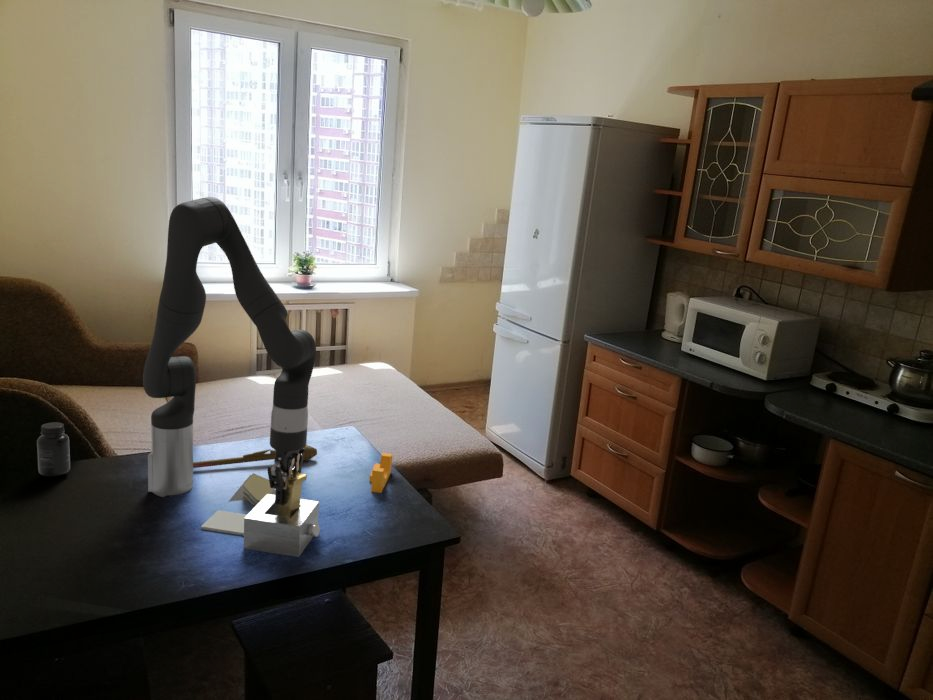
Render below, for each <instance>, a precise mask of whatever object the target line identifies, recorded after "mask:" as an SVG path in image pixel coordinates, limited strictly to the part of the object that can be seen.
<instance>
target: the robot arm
mask: <svg viewBox="0 0 933 700" xmlns="http://www.w3.org/2000/svg"><path fill="white" fill-rule="evenodd" d="M212 244H216V245H218V247H219V248H220V249H221V250H222V251H223V253H224V254H225V256H226V257H227V260H228V262H229V265H230V269H231V274H232V282H233V283H232V284H233V288H234V292H235V293H234V294H235V295H236V298H237V301H238V302H239V305H240V306H241V307H242V309H243V311H245V314H247V316H248V317H249V318H250V319H251V321H252V323H253V324H254V326H256V329H257V331H258V333H259V337H260V339H261V342H262V344H263V347H264V349H265V351H266V353H267V354H268V355H267V356H269V359H271V361H272V362H273V363H274V364H275V365H277V366H278V367H279V368H282V369H281V373H280V374H279V375H278V377H277V378H275V381H274V385H273V394H272V395H273V398H272V409H271V413H270V430H269V431H270V432H269V433H270V434H269V445H270V447H271V448H272V449H274V450H276V456H275V459H273V460H274V461H273V462H274V464H272V465H268V466H267V475H268V480H269V482H270V488H273V489H275V490H276V495H275V503H276V504H278V505H285V504H286V495H287V484H286V481H287V479H289V478H291V473H292V472H300V473H302V469H303V463H304V461H303V460H304V455H305V448H304V447H305V446H306V445H307V438H308V437H307V436H308V426H309V425H308V421H309V411H308V403H309V402H308V401H309V387H310V386H309V385H310V380H311V377H312V375H313V371H314V368H315V367H314V366H315V362H316V357H317V344H316V342H315V338H314V337H313V335H312V334H311V333H310V332H309V331H307V330H304V329H295V330H291V329H290V328H289V326H288V324H287V322H286V319H287V317H288V310H287V309H286V306H285V305H284V303H283V302H282V300H281V299H280V298H279V296H278V295H277V294H276V292H275V290H274V289H273V288H272V287H271V285H270V284H269V282H268V280H267V279H266V278H265V276H264V274H263V273H262V271H261V269H260V267H259V266H258V264H257V262H256V260H255V258H254V256H253V254H252V251H251V249H250V248H249V245H248V244H247V242H246V239H245V237H244V236H243V234H242V232H241V229H240V228H239V225H238V223H237V222H236V219H235V218H234V216H233V214H232V213H231V211H230V209H229V207H228V206H227V204H225V203H224V202H223V201H222V200H221V199H219V198H217V197H214V196H206V197H202V198H197V199H192V200H188V201H185V202H181V203H179V204H177V205H175V207H174V208H173V209H172V211H171V213H170V216H169V220H168V228H167V247H166V248H167V249H166V261H165V268H164V275H163V281H162V286H161V291H160V293H159V294H160V295H159V301H158V306H157V311H156V319H155V326H154V331H153V336H152V340H151V344H150V347H149V350H148V353H147V357H146V359H145V362H144V367H143V373H142V374H143V375H142V385H143V390H144V391H145V394H146V395H147V396H148V397H150V398H153V399H165V398H171V399H169V401H168V402H166V403H165V404H163V405H160V406H158V407H157V408H155V409H154V410H153V411H152V412H151V414H150V416H151V417H150V421H151V424H150V428H151V430H150V436H151V439H150V440H151V452H150V453H149V454H148V455H147V484H148V486H147V488H148V489H147V490H148V492H149V493H153V494H154V495H155V496H158V497H161V498H165V497H166V496H176V495H181V494H184V493H188V492H190V491H191V490H192V489H193V487H194V468H193V462H194V414H195V405H196V404H195V401H196V387H197V385H196V384H197V383H196V382H197V372H196V367H195V364H194V361H193V359H191V357H189V356H185V355H184V356H183V355H181V356H173V354H174V353H175V352H176V350H178V348H179V347H181V345H183V344H184V343H185V342H186V341H187V340H188V339H189V338H190V337H191V335H193V334H194V333H195V332H196V331H197V329H198V328H199V326H200V324H201V322H202V320H203V315H204V312H205V308H206V302H207V293H206V290H205V287H204V284H203V283H202V281H201V279H200V277H199V275H198V272H197V265H198V259H199V256H200V254H201V252H202V251H201V250H202V249H203V248H204V247H206V246H209V245H212ZM283 472H285V473H287V474H283ZM283 479H284V482H283Z"/></svg>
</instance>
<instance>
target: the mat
mask: <svg viewBox="0 0 933 700" xmlns="http://www.w3.org/2000/svg"><path fill="white" fill-rule="evenodd" d="M247 515H248V514H244V513H240V512H239V513H238V512H232V511H227V510H226V511H225V510H219V509H218V510H217V511H215V512H214V513H213V514H212V515H211V516H210V517H209V518H208V519H207V520H206V521H205V522H204V523H203V524H202V525H201V526H200V530H206V531H210V532H211V531H213V532H218V533H225V534H232V535H238V536H243V537H244V518H245V517H246V516H247Z"/></svg>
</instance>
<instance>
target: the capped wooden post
mask: <svg viewBox="0 0 933 700" xmlns="http://www.w3.org/2000/svg"><path fill="white" fill-rule="evenodd" d="M282 473H283V474H287V473H285V472H282ZM307 477H308V476H307V474H306V473H303V472H301V473H300V472H292V473H291V478H289V479H287V481H286V484H287V495H286V504H285V505H278V515H277V516H283V517H289V518H292V516H293V515H294V514H295V513H296V511H297V510H298V509H299V508H300V499H302V497H301V496H302V487H303V482H305V481H307ZM283 482H284V479H283Z"/></svg>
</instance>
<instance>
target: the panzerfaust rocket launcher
mask: <svg viewBox="0 0 933 700" xmlns="http://www.w3.org/2000/svg"><path fill="white" fill-rule="evenodd" d="M304 448H305V455H304V460H303V462H305V463H306V462H309V460H311V459H313V458H315V457H316V456H317V455H318V450H317V448H315V447H313V446H311V445H308V444H306V446H305V447H304ZM268 452H269V453H268ZM275 456H276V450H275V449H274V450H273V449H271V448H270V449H265V450H261V451H255V452H252V453H247V454H243V455H242V456H239V457H229V458H220V459H211V460H201V461H193V469H197V468H205V467H208V468H209V467H214V466H216V467H217V466H225V465H233V464H234V465H235V464H241V463H253V462H261V461H262V462H263V461H271V460H275Z"/></svg>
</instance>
